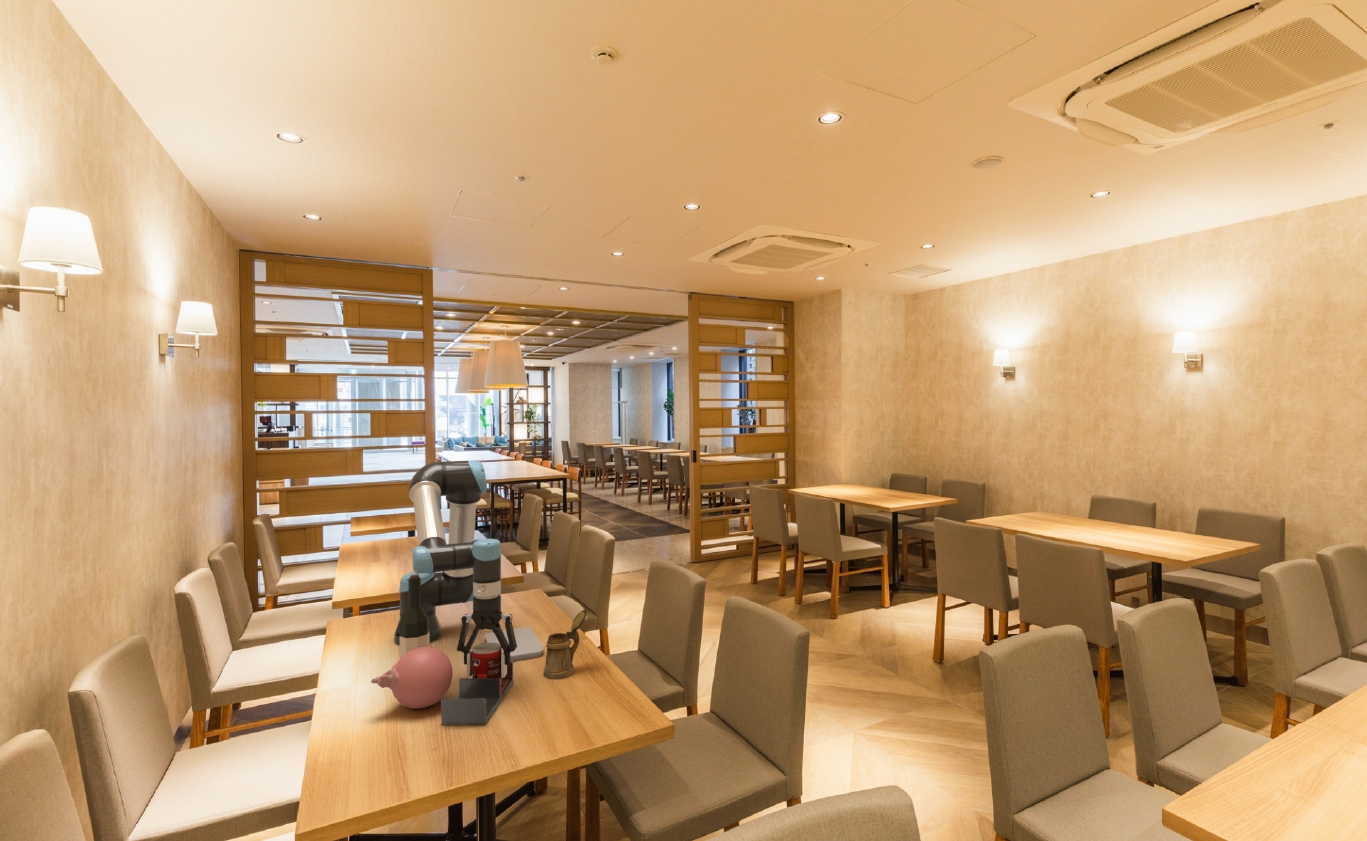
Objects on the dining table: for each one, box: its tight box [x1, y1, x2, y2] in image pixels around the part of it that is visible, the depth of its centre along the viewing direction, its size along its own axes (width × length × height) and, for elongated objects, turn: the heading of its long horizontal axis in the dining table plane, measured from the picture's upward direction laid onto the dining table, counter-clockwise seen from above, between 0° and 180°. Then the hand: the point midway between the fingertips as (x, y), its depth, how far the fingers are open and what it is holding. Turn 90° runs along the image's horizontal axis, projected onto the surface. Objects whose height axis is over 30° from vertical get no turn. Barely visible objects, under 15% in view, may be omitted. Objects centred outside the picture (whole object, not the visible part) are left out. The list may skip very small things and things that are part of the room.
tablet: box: [484, 626, 545, 662], centre depth 207 cm, size 16×26×2 cm, turn 24°
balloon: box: [370, 646, 454, 709], centre depth 163 cm, size 15×20×15 cm
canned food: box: [471, 642, 502, 683], centre depth 172 cm, size 8×8×11 cm
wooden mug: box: [542, 609, 588, 680], centre depth 187 cm, size 9×14×18 cm, turn 118°
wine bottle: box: [399, 574, 430, 659], centre depth 184 cm, size 8×8×30 cm
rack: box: [440, 661, 514, 726], centre depth 166 cm, size 25×11×8 cm, turn 179°
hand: (487, 675), depth 172 cm, fingers open, 9 cm apart
